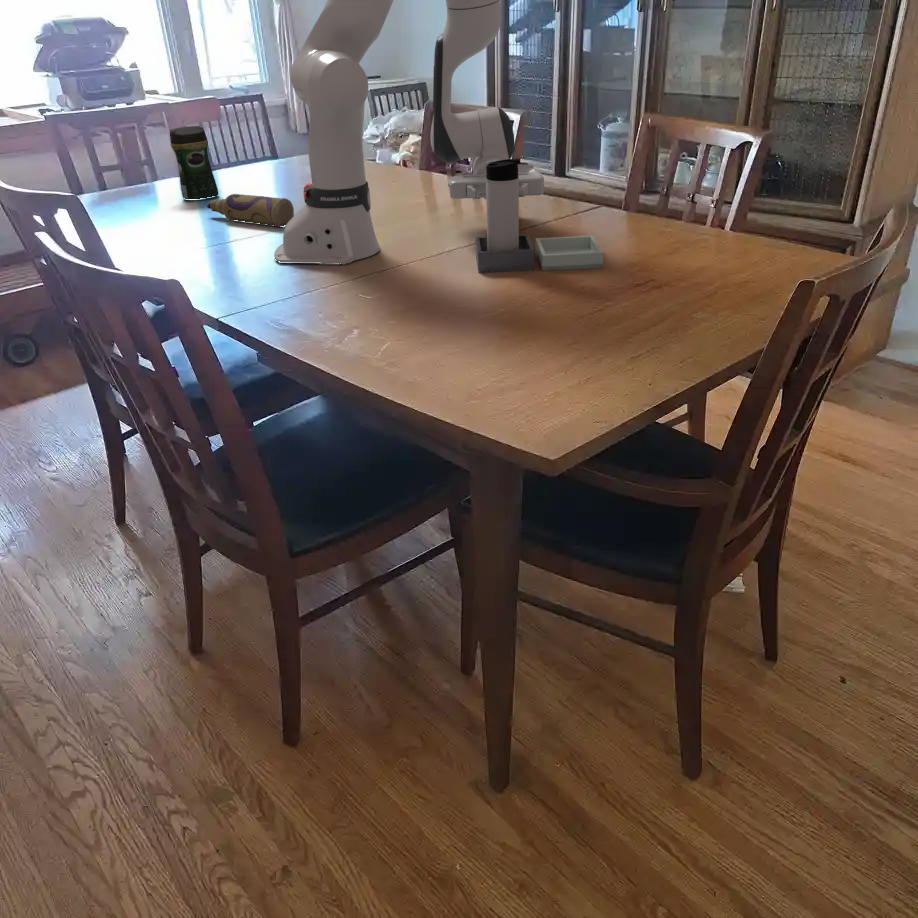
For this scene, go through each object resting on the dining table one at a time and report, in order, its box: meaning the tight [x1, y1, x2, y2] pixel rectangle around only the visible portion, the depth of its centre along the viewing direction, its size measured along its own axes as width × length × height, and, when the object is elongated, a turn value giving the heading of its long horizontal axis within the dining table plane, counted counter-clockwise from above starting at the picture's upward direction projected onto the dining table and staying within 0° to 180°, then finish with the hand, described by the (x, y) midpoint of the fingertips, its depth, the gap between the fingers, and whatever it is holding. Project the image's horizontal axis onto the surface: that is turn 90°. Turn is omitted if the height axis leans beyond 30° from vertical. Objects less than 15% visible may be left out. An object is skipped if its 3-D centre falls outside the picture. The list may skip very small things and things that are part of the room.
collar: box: [474, 234, 535, 274], centre depth 160 cm, size 11×11×4 cm
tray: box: [534, 235, 604, 272], centre depth 160 cm, size 12×12×3 cm
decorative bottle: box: [206, 193, 295, 227], centre depth 196 cm, size 26×8×7 cm, turn 59°
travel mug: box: [485, 158, 522, 251], centre depth 155 cm, size 6×7×20 cm
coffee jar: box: [169, 125, 220, 200], centre depth 216 cm, size 10×8×19 cm
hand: (498, 194), depth 165 cm, fingers open, 8 cm apart
